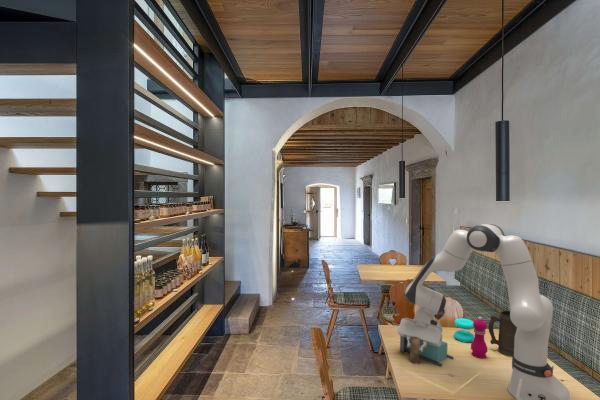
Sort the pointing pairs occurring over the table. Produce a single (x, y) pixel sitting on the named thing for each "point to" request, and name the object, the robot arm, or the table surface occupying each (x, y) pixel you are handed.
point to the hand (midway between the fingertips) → (414, 349)
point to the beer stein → (503, 333)
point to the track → (405, 349)
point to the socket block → (435, 352)
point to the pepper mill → (479, 339)
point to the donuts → (464, 335)
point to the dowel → (415, 350)
